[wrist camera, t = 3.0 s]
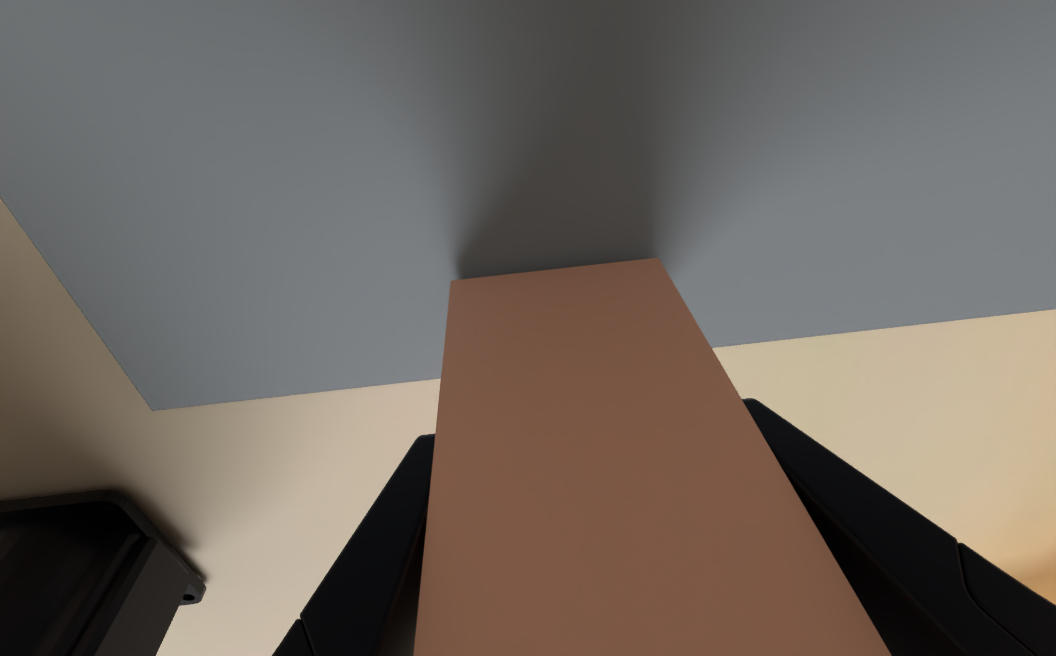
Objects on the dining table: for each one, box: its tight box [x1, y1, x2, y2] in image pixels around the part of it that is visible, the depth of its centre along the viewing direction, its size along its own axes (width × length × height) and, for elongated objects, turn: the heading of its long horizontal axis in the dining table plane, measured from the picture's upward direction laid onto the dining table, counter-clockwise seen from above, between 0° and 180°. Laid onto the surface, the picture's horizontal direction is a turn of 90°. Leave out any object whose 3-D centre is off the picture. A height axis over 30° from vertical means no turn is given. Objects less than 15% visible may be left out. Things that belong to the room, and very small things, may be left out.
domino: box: [413, 258, 892, 656], centre depth 9 cm, size 2×5×10 cm, turn 95°
